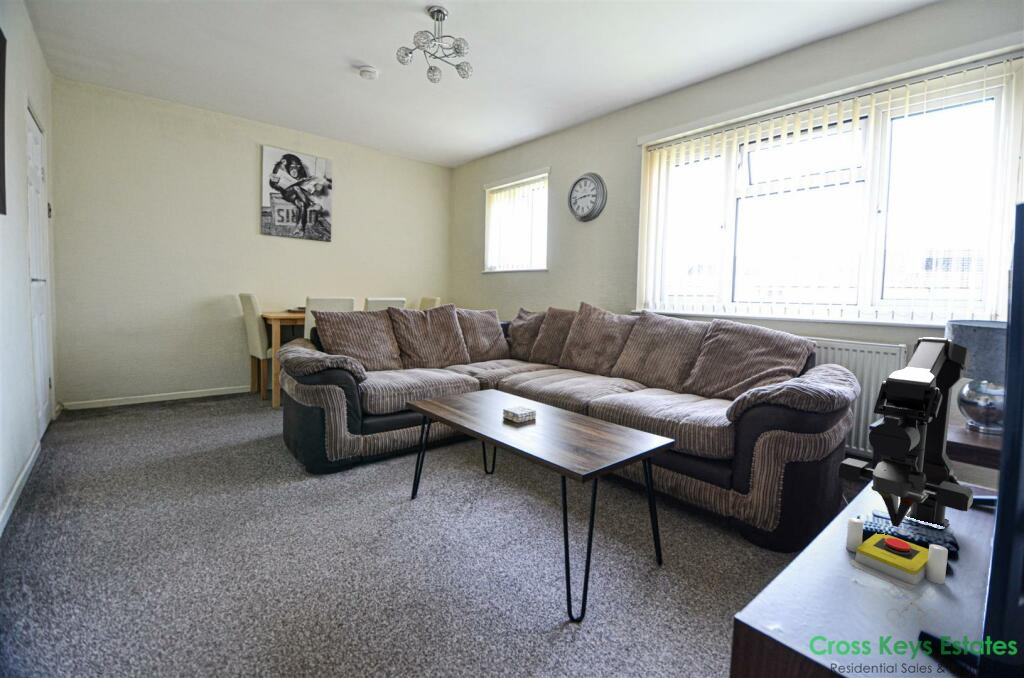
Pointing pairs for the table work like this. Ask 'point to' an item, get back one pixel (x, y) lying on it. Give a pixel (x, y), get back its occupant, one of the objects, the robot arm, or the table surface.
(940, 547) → the post
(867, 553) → the emergency button
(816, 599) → the table surface
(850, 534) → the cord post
